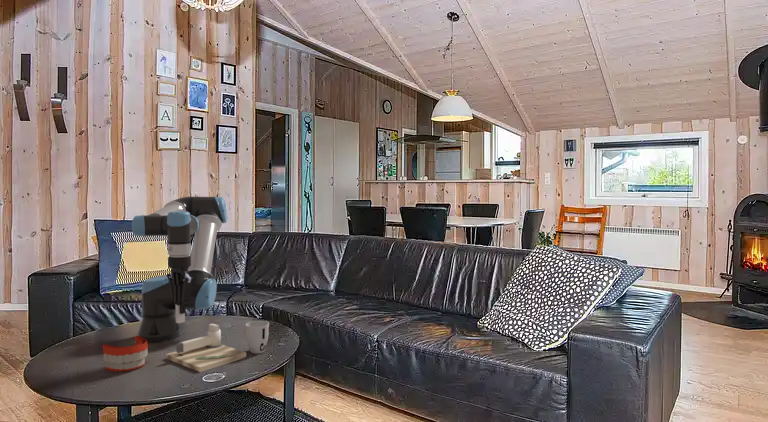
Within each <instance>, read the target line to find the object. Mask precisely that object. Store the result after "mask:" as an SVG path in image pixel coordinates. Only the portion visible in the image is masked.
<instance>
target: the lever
mask: <svg viewBox="0 0 768 422" xmlns="http://www.w3.org/2000/svg"><path fill="white" fill-rule="evenodd" d="M206 331H207V332H206V333H207V335H203V336H199V337H196V338H192V339H189V340H184V341H180V342H179V343H177V344H176V351H177V353H180V352H185V351H189V350H192V349H196V348H199V347H203V346H206V345H208V346H210V347H215V346H219V345H221V343H222V336H221V335H222V330H221V329H220V325H218V324H215V323H210V324H209V323H208V330H206Z"/></svg>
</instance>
